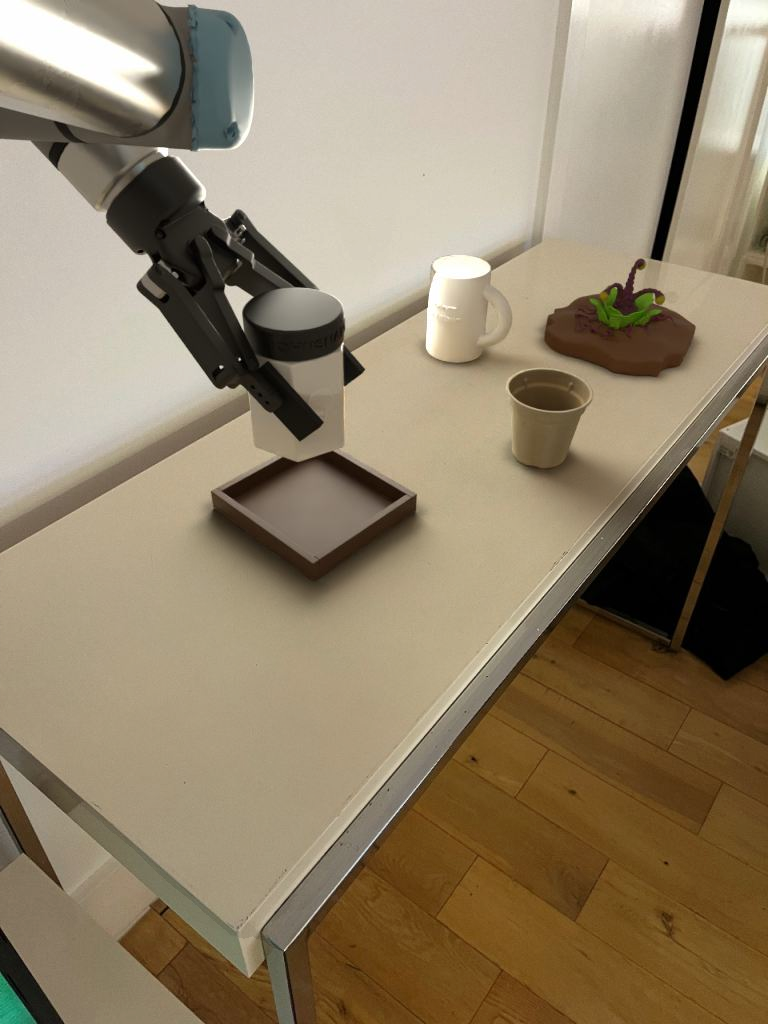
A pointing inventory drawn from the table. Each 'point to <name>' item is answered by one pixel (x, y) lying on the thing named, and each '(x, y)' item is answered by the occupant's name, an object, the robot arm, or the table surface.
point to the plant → (621, 329)
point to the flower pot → (545, 414)
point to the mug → (463, 309)
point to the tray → (314, 507)
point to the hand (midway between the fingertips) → (333, 404)
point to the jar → (299, 365)
